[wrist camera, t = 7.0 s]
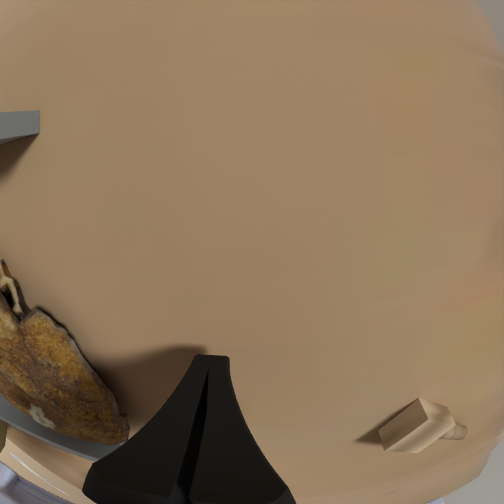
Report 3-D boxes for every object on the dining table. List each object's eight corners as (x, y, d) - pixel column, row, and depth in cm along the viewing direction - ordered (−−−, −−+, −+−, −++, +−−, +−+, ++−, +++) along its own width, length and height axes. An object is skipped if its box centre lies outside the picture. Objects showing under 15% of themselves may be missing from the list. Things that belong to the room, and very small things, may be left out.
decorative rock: (-43, 270, 12) (64, 410, 18) (-75, 299, 8) (48, 444, 14) (15, 208, 10) (162, 413, 16) (-45, 245, 6) (148, 465, 12)
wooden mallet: (473, 414, 18) (480, 428, 16) (443, 438, 19) (449, 452, 17) (418, 398, 15) (428, 419, 13) (377, 429, 16) (384, 450, 15)
